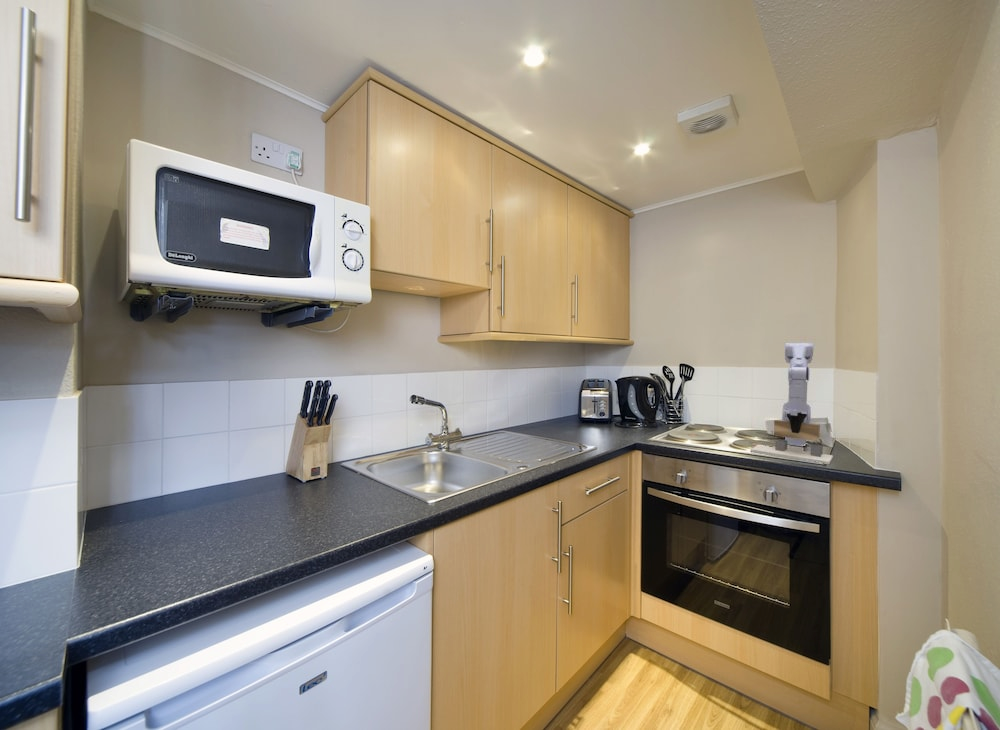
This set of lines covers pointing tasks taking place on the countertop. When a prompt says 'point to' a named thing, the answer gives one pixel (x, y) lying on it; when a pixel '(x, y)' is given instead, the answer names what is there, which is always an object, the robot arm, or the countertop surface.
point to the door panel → (805, 431)
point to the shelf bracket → (823, 422)
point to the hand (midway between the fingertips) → (796, 432)
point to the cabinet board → (794, 452)
